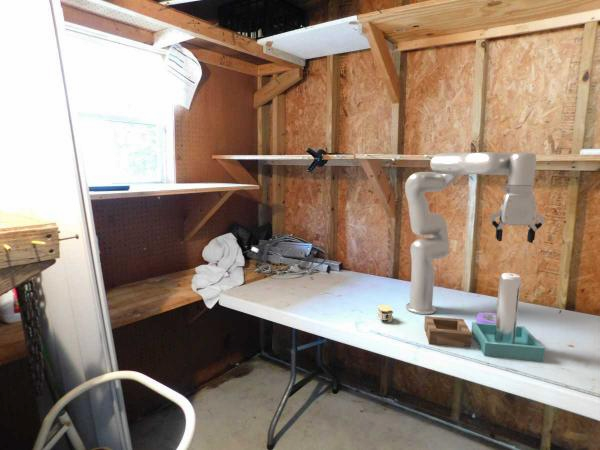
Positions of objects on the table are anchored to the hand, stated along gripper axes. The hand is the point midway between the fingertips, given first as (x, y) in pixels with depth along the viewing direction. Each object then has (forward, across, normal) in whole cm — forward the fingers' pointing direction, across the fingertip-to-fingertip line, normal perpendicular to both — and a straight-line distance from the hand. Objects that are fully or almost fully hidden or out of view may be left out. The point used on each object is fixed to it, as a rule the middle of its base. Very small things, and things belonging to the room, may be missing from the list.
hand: (514, 241), depth 132 cm
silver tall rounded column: (+37, 0, 0) cm, 37 cm away
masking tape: (+38, +1, +18) cm, 42 cm away
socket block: (+38, -19, +3) cm, 42 cm away
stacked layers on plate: (+38, -41, +15) cm, 58 cm away
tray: (+38, 0, 0) cm, 38 cm away
